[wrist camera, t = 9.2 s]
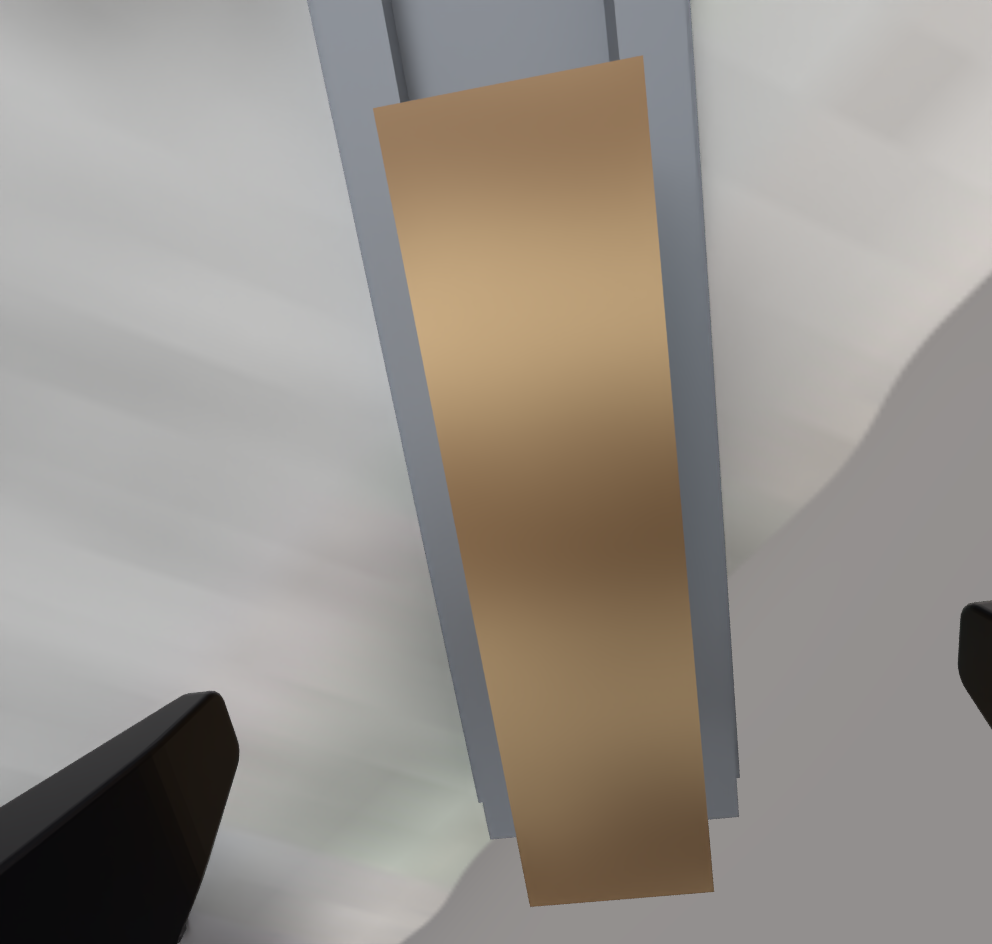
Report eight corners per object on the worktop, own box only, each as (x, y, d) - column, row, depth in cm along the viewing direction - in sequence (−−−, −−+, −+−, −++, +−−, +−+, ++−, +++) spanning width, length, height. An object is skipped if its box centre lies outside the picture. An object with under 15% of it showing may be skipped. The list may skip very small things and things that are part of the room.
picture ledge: (729, 752, 24) (754, 815, 21) (481, 777, 25) (475, 840, 22) (668, -133, 16) (697, -209, 13) (306, -54, 17) (265, -110, 14)
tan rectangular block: (643, 632, 21) (722, 890, 13) (528, 646, 22) (530, 907, 13) (590, 152, 17) (654, 53, 8) (449, 178, 17) (373, 109, 9)
